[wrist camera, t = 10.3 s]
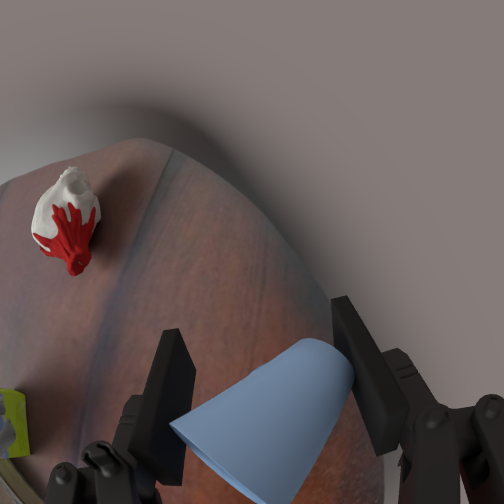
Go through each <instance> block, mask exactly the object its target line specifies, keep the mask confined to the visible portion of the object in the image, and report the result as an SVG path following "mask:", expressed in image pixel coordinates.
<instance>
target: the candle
mask: <svg viewBox="0 0 504 504" xmlns="http://www.w3.org/2000/svg"><path fill="white" fill-rule="evenodd" d="M100 219H101V211H100V205H99V201H98V198H97V197H96V196H95V195H94V194H93V189H92V187H91V185H90V183H89V180H88V176H87V174H86V173H84V171H83V170H82V169H80V168H79V167H76V166H73V167H71V166H69V169H66V170H65V172H64V174H62V175H61V176H60V179H59V180H58V181H57V183H56V185H54V186H52V187H50V188H49V189H48V190H47V191H46V192H45V193H44V194H43V195H42V197H41V199H40V200H39V202H38V204H37V206H36V209H35V215H34V217H33V221H32V227H31V228H32V234H33V237H34V239H35V240H36V241H37V243H38V244H39V246H40V248H41V249H40V250H41V251H42V252H43V253H44V254H45V255H46V256H51V257H58V258H61V259H64V260H65V262H66V263H67V270H68V272H69V274H70V275H71V276H76V275H78V274H80V273H82V272H83V270H84V268H85V267H86V266H87V265H88V263H89V261H90V259H91V252H90V251H89V242H90V239H91V237H92V235H93V230H94V228H95V226H96V224H97V223H98V222H99V221H100Z"/></svg>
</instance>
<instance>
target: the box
mask: <svg viewBox="0 0 504 504" xmlns="http://www.w3.org/2000/svg"><path fill="white" fill-rule="evenodd" d="M23 456H30V448H29V440H28V430H27V418H26V399H25V395H24V394H22V393H20V392H18V391H15V390H12V389H4V388H0V459H7V458H15V457H23Z"/></svg>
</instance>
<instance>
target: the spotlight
mask: <svg viewBox="0 0 504 504" xmlns="http://www.w3.org/2000/svg"><path fill="white" fill-rule="evenodd" d="M354 381H355V373H354V369H353V367H352V365H351V364H350V362H349V361H348V360H347V358H346V357H345V356H344V355H343V354H342V353H341V352H339V351H338V350H337V349H336V348H334V347H333V346H331V345H329V344H327V343H325V342H323V341H320V340H317V339H311V338H306V339H302V340H300V341H298V342H297V343H295V344H294V345H293V346H291V347H290V348H288V349H287V350H286V351H284V352H283V353H281V354H280V355H278V356H277V357H276V358H274V359H273V360H271V361H270V362H268V363H266V364H263V365H262V366H260V367H258V368H257V369H256V370H254V371H252V372H251V374H250V375H249V376H247V377H246V378H244V379H243V380H241V381H240V382H238V383H236V384H235V385H233V386H232V387H230V388H229V389H227V390H225V391H224V392H222V393H220V394H219V395H217V396H216V397H214V398H212V399H211V400H209V401H207V402H206V403H204V404H202V405H201V406H199V407H197V408H195V409H194V410H192V411H190V412H188V413H187V414H185V415H183V416H181V417H180V418H178V419H176V420H174V421H172V422H171V423H169V425H170V426H171V428H172V429H173V430H174V431H175V433H176V434H177V435H178V436H179V437H180V438H181V439H182V440H183V442H184V443H185V444H186V445H187V446H188V447H189V448H190V449H191V450H192V451H193V452H194V453H195V454H196V455H197V456H198V457H199V458H201V459H202V460H203V461H204V462H205V463H206V464H207V465H208V466H209V467H210V468H212V469H213V470H214V471H215V472H216V473H217V474H218V475H220V476H221V477H222V478H223V479H224V480H226V481H227V482H228V483H229V484H231V485H232V486H233V487H235V488H236V489H237V490H239V491H240V492H241V493H243V494H244V495H245V496H247V497H248V498H250V499H251V500H252V501H254V502H255V503H257V504H290V503H291V502H292V500H293V499H294V497H295V495H296V494H297V492H298V491H299V489H300V487H301V486H302V484H303V482H304V481H305V479H306V477H307V476H308V474H309V472H310V470H311V469H312V467H313V465H314V463H315V462H316V460H317V458H318V456H319V454H320V453H321V451H322V449H323V447H324V445H325V443H326V441H327V439H328V437H329V435H330V433H331V431H332V429H333V427H334V425H335V423H336V421H337V419H338V417H339V415H340V413H341V411H342V408H343V406H344V404H345V402H346V400H347V397H348V395H349V393H350V391H351V388H352V386H353V384H354Z"/></svg>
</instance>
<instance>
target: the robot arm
mask: <svg viewBox="0 0 504 504" xmlns="http://www.w3.org/2000/svg"><path fill="white" fill-rule="evenodd" d="M331 309H332V323H333V338H334V347H335V348H336V349H337V350H338V351H339V352H341V353H342V354H343V355H344V356H345V357H346V358H347V360H348V361H349V362H350V364H351V365H352V367H353V369H354V373H355V381H354V384H353V386H352V388H351V389H352V392H353V394H354V397H355V399H356V402H357V405H358V407H359V410H360V412H361V415H362V418H363V420H364V423H365V426H366V428H367V431H368V434H369V437H370V439H371V442H372V445H373V448H374V450H375V453H376V456H380V455H383V454H386V453H388V452H392V451H394V450H396V449H397V447H398V444H399V443H400V445H401V448H402V450H403V453H402V455H401V458H400V460H399V463H398V466H401V474H400V488H399V500H398V504H460V475H461V478H462V481H463V484H464V488H465V491H466V494H467V497H468V501H469V504H504V399H503V398H502V397H500V396H499V395H495V394H489V395H485V396H483V397H482V398H480V399H479V401H478V402H477V404H476V405H475V406H471V407H465V408H459V409H451V408H448V407H447V406H445V405H443V404H440V403H438V402H437V400H436V399H435V398H434V396H433V395H432V393H431V391H430V389H429V388H428V386H427V385H426V383H425V381H424V380H423V379H422V377H421V375H420V374H419V373H418V370H417V369H416V367H415V366H414V365H413V363H412V361H411V359H410V358H409V356H408V355H407V354H406V353H404V352H403V351H401V350H400V349H398V348H395V349H392V350H389V351H386V352H383V353H381V352H380V350H379V349H378V347H377V345H376V344H375V342H374V340H373V338H372V337H371V335H370V333H369V331H368V330H367V328H366V326H365V325H364V323H363V321H362V320H361V318H360V316H359V315H358V313H357V311H356V310H355V308H354V306H353V305H352V303H351V302H350V300H349V298H348V296H342V297H338V298H334V299H331ZM195 376H196V368H195V366H194V364H193V362H192V359H191V357H190V355H189V352H188V350H187V348H186V345H185V343H184V340H183V338H182V336H181V333H180V331H179V328H177V329H170V330H163V333H162V336H161V339H160V342H159V345H158V348H157V351H156V354H155V357H154V360H153V363H152V367H151V370H150V373H149V376H148V379H147V382H146V386H145V389H144V392H143V395H132V396H131V397H130V399H129V400H128V401H127V402H126V404H125V406H124V409H123V412H122V416H121V418H120V421H119V424H118V427H117V430H116V433H115V436H114V440H113V443H112V446H111V445H110V444H109V443H108V442H105V441H95V442H93V443H90V444H89V445H88V446H87V447H86V448H85V449H84V451H83V452H82V456H81V459H82V460H83V461H84V462H85V463H86V464H87V465H88V466H89V467H85V468H79V469H77V468H76V467H75V466H74V465H72V464H71V463H68V462H63V463H60V464H58V465H56V466H55V467H54V468H53V470H52V472H51V475H50V478H49V482H48V486H47V491H46V495H45V499H44V504H162V501H161V497H160V494H159V492H158V490H157V489H156V488H155V484H156V480H157V481H159V482H160V483H161V484H162V485H168V486H182V478H183V469H184V460H185V451H186V444H185V443H184V442H183V440H182V439H181V438H180V437H179V436H178V435H177V434H176V433H175V431H174V430H173V429H172V428H171V426H170V425H169V423H171V422H172V421H174V420H176V419H178V418H180V417H181V416H183V415H185V414H187V413H188V412H190V411H191V405H192V397H193V390H194V383H195Z"/></svg>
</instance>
